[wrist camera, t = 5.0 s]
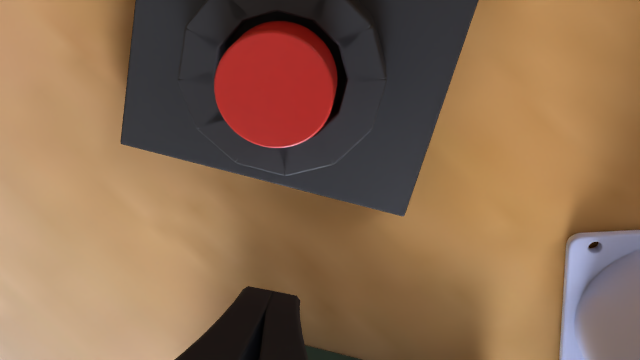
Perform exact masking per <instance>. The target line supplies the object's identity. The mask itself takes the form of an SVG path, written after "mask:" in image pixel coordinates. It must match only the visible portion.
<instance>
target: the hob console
mask: <svg viewBox="0 0 640 360" xmlns="http://www.w3.org/2000/svg"><path fill="white" fill-rule="evenodd" d="M305 348H306V352H307V356H308V360H362V359H358V358H354V357H350V356H346V355H342V354H338V353H334V352H330V351H326V350H322V349H318V348H314V347H310V346H306V345H305Z"/></svg>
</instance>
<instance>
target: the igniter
mask: <svg viewBox="0 0 640 360" xmlns="http://www.w3.org/2000/svg"><path fill="white" fill-rule="evenodd" d="M477 3H478V0H136V2H135V12H134V21H133V30H132V40H131V49H130V59H129V68H128V77H127V87H126V96H125V106H124V115H123V124H122V134H121V144H123V145H127V146H131V147H135V148H139V149H143V150H147V151H151V152H154V153H158V154H162V155H166V156H170V157H174V158H178V159H182V160H186V161H189V162H193V163H197V164H201V165H205V166H209V167H213V168H217V169H221V170H224V171H228V172H232V173H236V174H240V175H244V176H248V177H252V178H255V179H259V180H263V181H267V182H271V183H275V184H279V185H283V186H287V187H290V188H294V189H298V190H302V191H306V192H310V193H314V194H318V195H322V196H325V197H329V198H333V199H337V200H341V201H345V202H349V203H353V204H357V205H360V206H364V207H368V208H372V209H376V210H380V211H384V212H388V213H391V214H395V215H399V216H404V215H405V213H406V210H407V207H408V204H409V201H410V198H411V195H412V192H413V189H414V186H415V184H416V181H417V178H418V175H419V172H420V169H421V166H422V163H423V160H424V157H425V154H426V151H427V149H428V146H429V143H430V140H431V137H432V134H433V131H434V128H435V125H436V122H437V119H438V117H439V114H440V111H441V108H442V105H443V102H444V99H445V96H446V93H447V90H448V87H449V85H450V82H451V79H452V76H453V73H454V70H455V67H456V64H457V61H458V58H459V55H460V53H461V50H462V47H463V44H464V41H465V38H466V35H467V32H468V29H469V26H470V23H471V20H472V18H473V15H474V12H475V9H476V6H477ZM270 21H288V22H293V23H296V24H299V25H302V26H304V27H306V28H308V29H309V30H311V31H313V32H314V33H315V34H316V35H318V36H319V37H320V38H321V39H322V40H323V42H324V43H325V44H326V45H327V47H328V48H329V50H330V52H331V54H332V56H333V58H334V61H335V64H336V69H337V88H336V93H335V98H334V102H333V106H332V109H331V112H330V115H329V117H328V119H327V121H326V122H325V124H324V125H323V127H322V128H321V129H320V130H319V131H318V132H317V133H316V134H315V135H314V136H313V137H311V138H310V139H308V140H307V141H305V142H303V143H300V144H298V145H295V146H292V147H286V148H269V147H263V146H260V145H257V144H254V143H252V142H249V141H247V140H246V139H244V138H242V137H241V136H240V135H238V134H237V133H236V132H235V131H234V130H233V129H232V128H231V127H230V126H229V125H228V124H227V122H226V121H225V120H224V118H223V116H222V115H221V113H220V111H219V108H218V106H217V103H216V99H215V93H214V79H215V73H216V69H217V66H218V64H219V61H220V60H221V58H222V56H223V54H224V53H225V52H226V51H227V49H228V48H229V47H230V46H231V45H232V44H233V43H234V42H235V41H237V40H238V39H239V38H240V37H241V36H242V35H243V34H244V33H245V32H247V31H248V30H249V29H251V28H253V27H255V26H257V25H259V24H262V23H265V22H270Z"/></svg>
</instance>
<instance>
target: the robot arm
mask: <svg viewBox="0 0 640 360" xmlns="http://www.w3.org/2000/svg"><path fill="white" fill-rule="evenodd" d="M592 242H599V243H598V245H597V246H596V247H594V248H588V247H589V245H590V244H591V243H592ZM175 360H308V356H307V352H306V348H305V344H304V339H303V334H302V328H301V321H300V299H299V298H298V297H297V296H296V295H291V294H286V293H280V292H275V291H270V290H265V289H260V288H255V287H250V286H248V287H246V288H244V289H243V290H242V291H241V293H240V294H239V296H238V297H237V298H236V300H235V301H234V302H233V303H232V305H231V306H230V307H229V308H228V309H227V310H226V312H225V313H224V314H223V315H222V316H221V317H220V318H219V319H218V320H217V321H216V322H215V323H214V324H213V325H212V326H211V327H210V328H209V329H208V330H207V332H205V333H204V334H203V335H202V336H201V337H200V338H199V339H198V340H197V341H196V342H195V343H193V344H192V345H191V346H190V347H189V348H188V349H187V350H186V351H185V352H183V353H182V354H181V355H180V356H179V357H177V358H176V359H175ZM559 360H640V230H624V231H605V232H586V233H577V234H574V235H572V236H570V238H569V239H568V240H567V243H566V255H565V272H564V289H563V305H562V322H561V339H560V355H559Z"/></svg>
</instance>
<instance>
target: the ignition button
mask: <svg viewBox="0 0 640 360" xmlns="http://www.w3.org/2000/svg"><path fill="white" fill-rule="evenodd" d="M336 88H337V69H336V64H335V61H334V58H333V56H332V54H331V52H330V50H329V48H328V47H327V45H326V44H325V43H324V42H323V40H322V39H321V38H320V37H319V36H318V35H316V34H315V33H314V32H313V31H311V30H309V29H308V28H306V27H304V26H302V25H299V24H296V23H293V22H288V21H270V22H265V23H262V24H259V25H257V26H255V27H253V28H251V29H249V30H248V31H247V32H245V33H244V34H243V35H242V36H241V37H240V38H239V39H238V40H237V41H235V42H234V43H233V44H232V45H231V46H230V47H229V48H228V49H227V51H226V52H225V53H224V54H223V56H222V58H221V60H220V61H219V64H218V66H217V69H216V73H215V79H214V93H215V99H216V103H217V106H218V108H219V111H220V113H221V115H222V116H223V118H224V120H225V121H226V122H227V124H228V125H229V126H230V127H231V128H232V129H233V130H234V131H235V132H236V133H237V134H238V135H240V136H241V137H242V138H244V139H246V140H247V141H249V142H252V143H254V144H257V145H260V146H263V147H269V148H286V147H292V146H295V145H298V144H300V143H303V142H305V141H307V140H308V139H310V138H311V137H313V136H314V135H315V134H316V133H317V132H318V131H319V130H320V129H321V128H322V127H323V125H324V124H325V122H326V121H327V119H328V117H329V115H330V112H331V109H332V106H333V102H334V98H335V93H336Z"/></svg>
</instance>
